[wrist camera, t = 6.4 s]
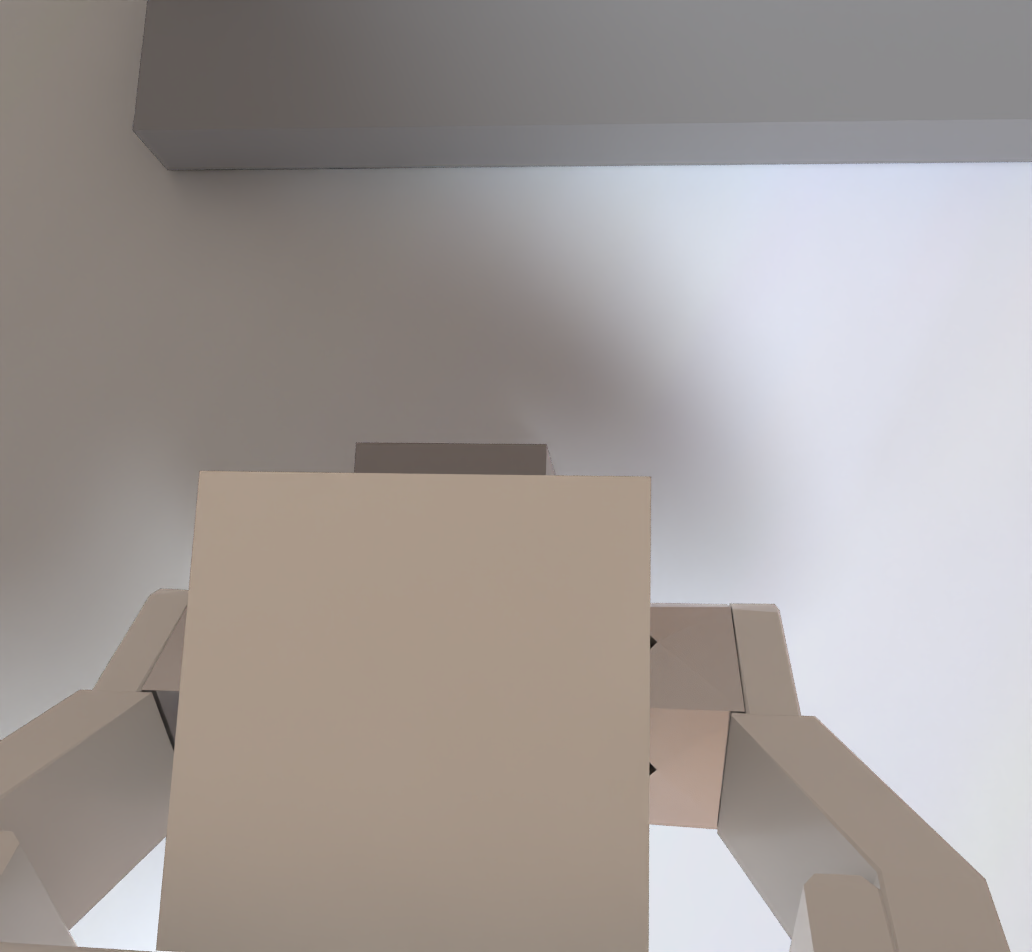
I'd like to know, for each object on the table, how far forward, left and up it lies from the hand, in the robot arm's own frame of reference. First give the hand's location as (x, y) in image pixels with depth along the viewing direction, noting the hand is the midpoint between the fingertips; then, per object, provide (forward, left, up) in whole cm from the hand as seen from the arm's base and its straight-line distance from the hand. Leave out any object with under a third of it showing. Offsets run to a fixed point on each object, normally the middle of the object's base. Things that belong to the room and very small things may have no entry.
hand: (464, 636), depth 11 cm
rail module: (0, +1, -4) cm, 4 cm away
